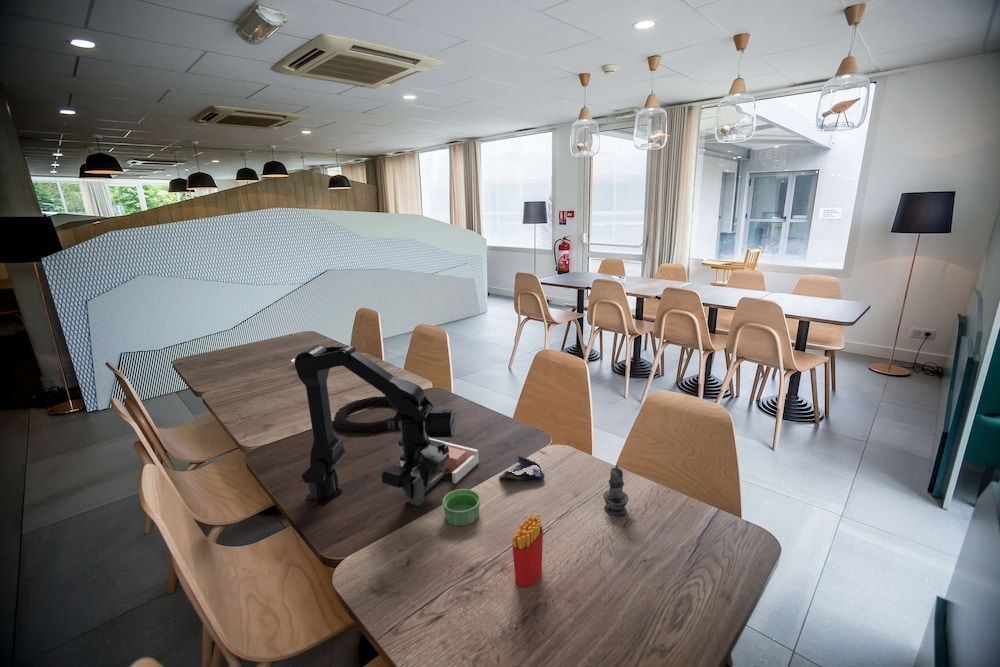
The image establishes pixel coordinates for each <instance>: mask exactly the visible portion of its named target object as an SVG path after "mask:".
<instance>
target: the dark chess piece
mask: <svg viewBox="0 0 1000 667" xmlns="http://www.w3.org/2000/svg"><path fill="white" fill-rule="evenodd" d="M609 477H610V479H609V480H608V484H609V489H608V490H606V491H605V492H604V493H603V500H604V503H605V505H604V507H603V509H604V512H605V513H606V514H607V515H609V516H611V517H614V518H621V517H624V516H626V515H627V512H628V509H627V508H626V506H627V503H628V502H629V496H628V494H627V493H626V492H624V491H623V488H624V485H625V481H624V480H623V477H624V471H623V470H622V469H621V467H619V465H618V464H616V465H615V467H612V468H611V469H610V475H609Z"/></svg>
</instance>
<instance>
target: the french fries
mask: <svg viewBox="0 0 1000 667" xmlns="http://www.w3.org/2000/svg"><path fill="white" fill-rule="evenodd" d="M532 515H533V514H530V515H528V517H527V519H526V520H525V521H524V522H522V523H520V525H519V526H518V527H519V530H518V531H516V532H515V533H514V534H513V535H512V537H511V540H512V544H511V545H512V547H511V548H512V556H513V557H512V558H513V566H514V567H513V569H514V577H515V584H516V585H519V586H521V587H523V588H527V587H531V586H532V585H533V584H534V583H535V582H536V581H537V579H538V578H539V577H540V575H541V574H542V570H543V566H542V565H543V541H544V540H543V538H544V535H543V534H544V531H543V529H544V528H543V526H542V525H541V522H542V520H541V519H540V513H538V514H537V513H536V515H535V516H534V517H533V516H532Z"/></svg>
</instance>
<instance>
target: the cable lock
mask: <svg viewBox="0 0 1000 667" xmlns="http://www.w3.org/2000/svg"><path fill="white" fill-rule="evenodd" d="M376 406H391V404H390V403H389V401H388V399H387V398H386V396H385V395H383V396H371V397H367V398H363V399H357V400H355V401H352V402H349V403H347V404H345V405H344V406H342V407H340V408H339V409H338V411H336V412H335V414H334V417H333V423H334V424H335V426H336V427H337V428H339V429H340V430H341V431H346V432H347V431H348V433H355V434H370V433H371V434H372V433H378V432H379V433H380V432H382V431H385V430H387V431H389V430H390V429H391V430H394V429H397V430H399V429H400V430H401V426H400V422H392V421H391V419H392V417H393V416H392V417H388V418H385V419H383V420H377V421H371V422H357V421H356V422H354V421H350V420H347V419H345V418H346V417H347V416H349V414H351V413H353V411H354V412H356V411H357V410H360V408H362V409H365V408H369V407H376Z"/></svg>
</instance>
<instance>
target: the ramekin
mask: <svg viewBox="0 0 1000 667" xmlns="http://www.w3.org/2000/svg"><path fill="white" fill-rule="evenodd" d="M441 502H442V508H443V511H444V516H445V519H447V520H448V521H447V520H446V521H447V522H448V523H449V522H450V523H449V524H451V523H452V524H451V525H453V524H454V525H453V526H456V525H460V526H459V527H463V526H462V525H465V526H468V524H469V525H471V524H473V523H474V522H476V521H477V520H478V518H479V515H480V504H481V496H480V495H479V493H478V492H476V491H474V490H472V489H467V488H460V489H455V490H452V491H450V492H448V493H447V494H445V496H444V497H443V498H442V501H441ZM475 520H476V521H475ZM470 523H471V524H470Z"/></svg>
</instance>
